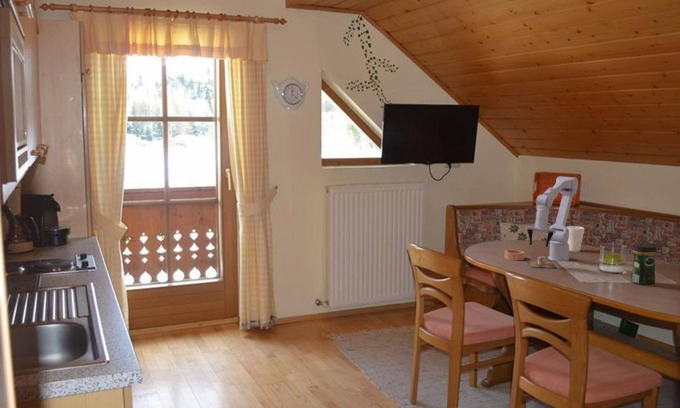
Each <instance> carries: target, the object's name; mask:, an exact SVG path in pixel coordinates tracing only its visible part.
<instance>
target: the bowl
mask: <svg viewBox="0 0 680 408" xmlns="http://www.w3.org/2000/svg"><path fill="white" fill-rule="evenodd" d="M504 259H506V260H508V261H523V260H525V251H524V250H519V249H506V250H504Z"/></svg>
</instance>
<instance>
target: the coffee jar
mask: <svg viewBox="0 0 680 408" xmlns="http://www.w3.org/2000/svg"><path fill="white" fill-rule="evenodd" d="M657 248H658V247H657V244H656V243H653V242H638V243H636V242H635V243H634V244H633V248H632V252H633V265H632V271H631V277H630V281H631V282H632V283H634V284H635V285H636V284H637V285H643V286H645V285H647V286H648V285H653V284H655V282H656V262H655V261H656V256H657V252H658V251H657V250H658V249H657Z"/></svg>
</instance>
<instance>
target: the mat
mask: <svg viewBox="0 0 680 408" xmlns="http://www.w3.org/2000/svg"><path fill="white" fill-rule="evenodd" d="M521 261H522V264H524V266H525V267H526V269H527V270H543V271H544V270H546V271H550V270H551V271H562V269H561V268H560V266H559V265H558V264H556V262H554V261H553V262H552V261H551V262H552V263H553V264H554V265H555V266H556V267H557V269H542V268H531V267H530V266H529V264H528V263H527V261H523V260H521Z"/></svg>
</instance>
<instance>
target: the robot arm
mask: <svg viewBox="0 0 680 408" xmlns="http://www.w3.org/2000/svg"><path fill="white" fill-rule="evenodd" d="M578 188H579V180H578V178H577V177H571V176H561V175H559V176H557V178H556V181H555V184H554V185H553V186H552V187H548V188H547V189H546V190H545V192H543V194H539V195H537V197H536V199H535V204H536V207H535V209H536V216H535V223H534V224H535V225H534V226H529V225H525V230H527V235H528V239H529V245H530V246H532V243H533V241H532V240H533V234H534V232H541V233H543V232H544V233H546V241H545V242H546V243H545V247H546V248H548V246H549V256H547V258H548V260H550V261H563V262H564V261H565V262H569V261H570V260H569V258H570V251H569V244H568V239H569V229H568V228H567V227H568V226H566V224H567V221H568V216H569V213H570V209H571V206H572V205H571V204H572V202H573V199H574V198H573V197H574V196H575V195H576V194H577V192H578V191H577V190H578ZM559 193H560V194H561V195H562V197H561V201H560V204H559V209H558V212H557V215H556V221H555V223H554V224H552V225H550V226H549V228H548V223H549V214H550V208H551V207H552V206H553V202H554V200H555V199H556V198H557V197H558V196H559Z"/></svg>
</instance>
